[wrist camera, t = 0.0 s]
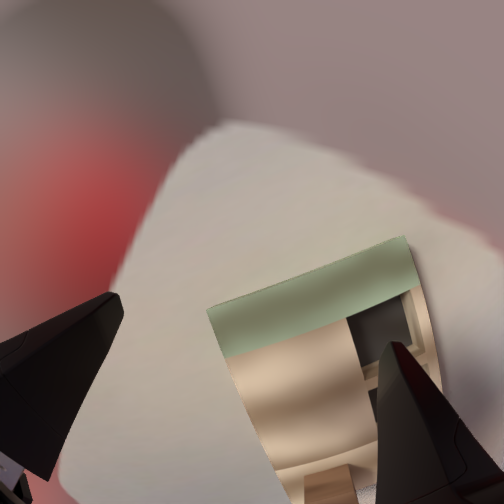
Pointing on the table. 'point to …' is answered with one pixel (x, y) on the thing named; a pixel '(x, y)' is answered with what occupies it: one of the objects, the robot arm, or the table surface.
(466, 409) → the table surface
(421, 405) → the robot arm
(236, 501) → the table surface
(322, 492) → the walnut block
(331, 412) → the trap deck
